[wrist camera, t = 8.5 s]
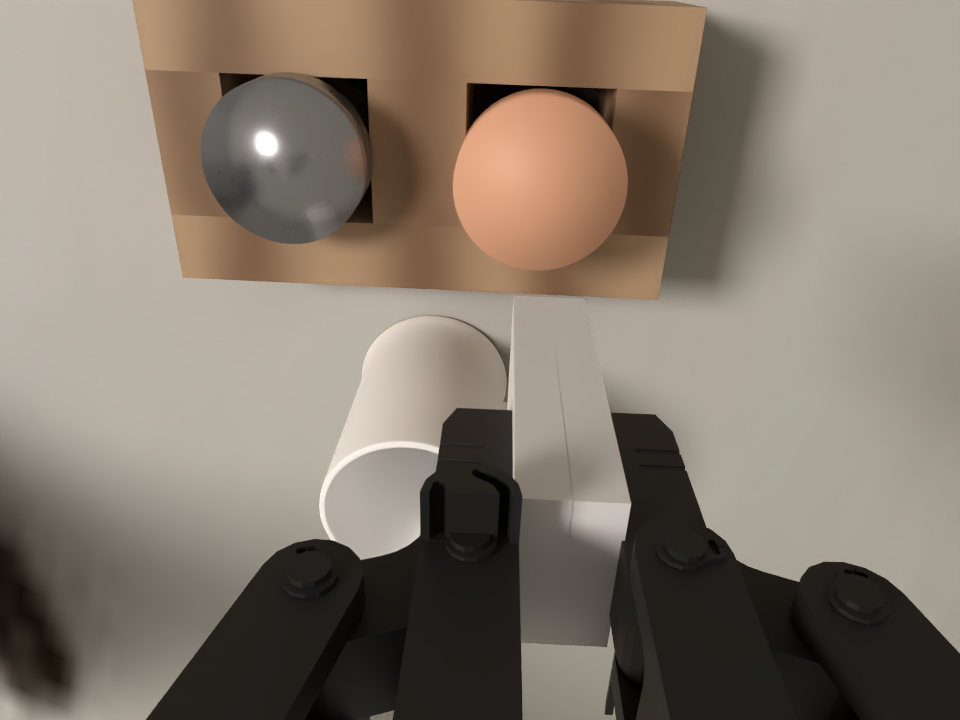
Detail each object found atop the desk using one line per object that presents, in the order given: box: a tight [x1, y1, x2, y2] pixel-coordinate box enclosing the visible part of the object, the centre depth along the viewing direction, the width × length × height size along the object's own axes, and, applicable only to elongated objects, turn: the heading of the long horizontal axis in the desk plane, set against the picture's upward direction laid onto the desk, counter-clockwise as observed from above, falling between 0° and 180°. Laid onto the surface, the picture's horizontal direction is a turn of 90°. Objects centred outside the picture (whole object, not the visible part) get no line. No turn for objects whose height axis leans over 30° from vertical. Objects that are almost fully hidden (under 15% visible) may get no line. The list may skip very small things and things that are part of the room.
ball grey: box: [201, 72, 373, 244], centre depth 31 cm, size 6×6×8 cm
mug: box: [319, 316, 507, 560], centre depth 37 cm, size 12×8×12 cm
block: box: [132, 0, 707, 300], centre depth 32 cm, size 22×12×6 cm, turn 88°
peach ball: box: [453, 88, 628, 271], centre depth 29 cm, size 6×6×8 cm
